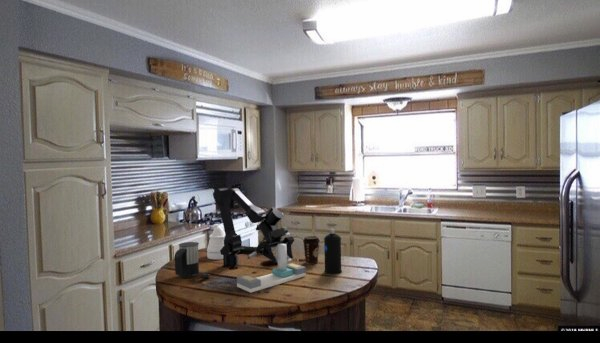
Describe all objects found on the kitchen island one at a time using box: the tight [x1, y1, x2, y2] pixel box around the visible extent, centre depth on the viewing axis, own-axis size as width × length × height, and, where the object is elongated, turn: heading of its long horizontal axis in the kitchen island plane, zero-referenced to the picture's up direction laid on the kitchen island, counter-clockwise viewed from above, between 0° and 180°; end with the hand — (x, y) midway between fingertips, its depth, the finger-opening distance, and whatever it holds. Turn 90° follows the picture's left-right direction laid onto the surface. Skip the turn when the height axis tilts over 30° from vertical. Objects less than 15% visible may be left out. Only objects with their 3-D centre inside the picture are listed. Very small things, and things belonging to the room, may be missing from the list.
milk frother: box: [173, 241, 212, 279], centre depth 166 cm, size 14×16×15 cm
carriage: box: [271, 244, 293, 277], centre depth 162 cm, size 6×7×13 cm
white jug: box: [206, 223, 225, 260], centre depth 202 cm, size 13×13×18 cm
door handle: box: [237, 245, 273, 259], centre depth 206 cm, size 3×20×16 cm
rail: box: [236, 262, 307, 294], centre depth 158 cm, size 30×10×4 cm, turn 132°
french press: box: [271, 212, 293, 263], centre depth 193 cm, size 10×12×25 cm
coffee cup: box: [302, 235, 321, 265], centre depth 186 cm, size 9×8×13 cm
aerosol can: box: [323, 228, 343, 275], centre depth 170 cm, size 8×8×20 cm
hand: (284, 260), depth 161 cm, fingers open, 9 cm apart
